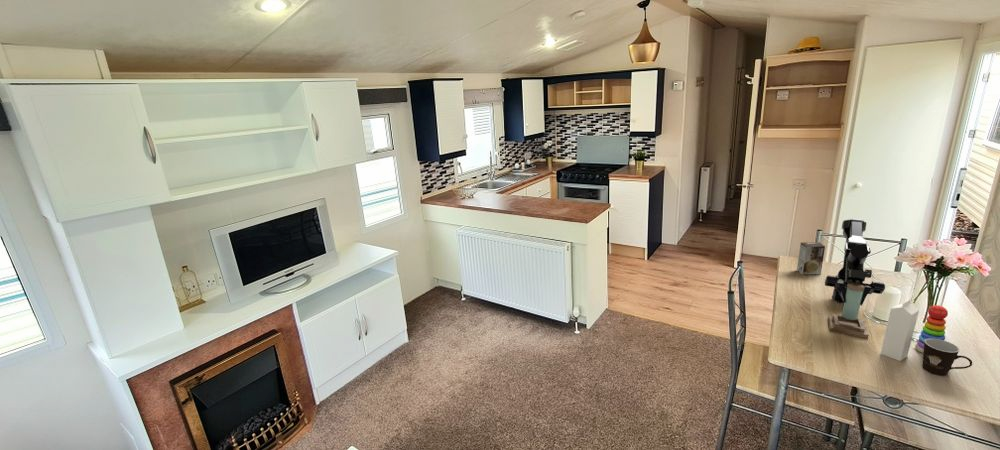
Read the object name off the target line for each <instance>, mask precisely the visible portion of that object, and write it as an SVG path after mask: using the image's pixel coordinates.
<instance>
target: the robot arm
mask: <svg viewBox="0 0 1000 450" xmlns="http://www.w3.org/2000/svg"><path fill="white" fill-rule="evenodd" d="M866 227H867V222H866V221H864V220H863V219H859V218H858V219H857V218H850V219H849V218H848V219H845V220H843V221H842V224H841V230H842V234H843V236H844V238H845V244H844V254H843V261H842V267H841V269H840V270H839V271H838V273H837V275H829V274H828V275H827V276H826V278H825V281H824V286H826V287H830V288H833V291H832V295H831V297H832V298H833V299H834V301H836V303H842V304H844V303H845V301H846V292H847V284H848V283H857V284H860V285H863V286H864V287H865V288H864V290H863V294H862V299H861V303H860V307H861V306H863V304H864V303H865V300H866V298H867V296H868V295H872V294H878V295H879V294H881V295H882V293H884V291H885V290H886V285H885V283H884V282H880V281H871V282H870V283H865V281H866V279H871V278H872V277H873V276H872V274H873V270H872V269H868V268H867V269H865V268H864V267H865V266H864V265H865V262H866V260H867V258H868V256H869V254H870V255H871V253H872V252H871V251H872V250H871V247H869V245H868V242H867V239H865V238H864V237H863V236H864V235H863V232H866V229H867V228H866Z"/></svg>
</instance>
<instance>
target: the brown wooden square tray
mask: <svg viewBox="0 0 1000 450" xmlns="http://www.w3.org/2000/svg"><path fill="white" fill-rule="evenodd" d="M827 319H828V324H829V330H830V332H833V333H839V334H843V335H847V336H852V337H853V336H854V337H858V338H864V339H869V332H868V329H867V326H866V323H865V320H864V321H863V320H862V318H859V317H858V318H857V319H856V320H850V319H846V318H844V317H843V316H842V314H841V315H840V314H838V313H837V314H836V313H833V315H828V318H827Z"/></svg>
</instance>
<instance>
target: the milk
mask: <svg viewBox="0 0 1000 450" xmlns="http://www.w3.org/2000/svg"><path fill="white" fill-rule="evenodd" d="M919 312H920V310H919V309H918V308H917V307H916V306H914V305H913V304H912V303H911V299H908V300H907V301H905V302H904V303H898V304H896V305H894V306H892V307H891V308H890V311H889V316H888V318H887V319H888V320H887V324H886V327H885V332H884V337H883V341H882V346H881V350H880V354H881V355H883V356H885V357H888V358H891V359H894V360H896V361H899V362H902V360H904V359H905V358H907V357H908V355H909V351H910V347H911V343H912V340H913V335H914V332H915V327H916V324H917V321H918V316H919V314H920V313H919Z"/></svg>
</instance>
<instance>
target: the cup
mask: <svg viewBox="0 0 1000 450" xmlns="http://www.w3.org/2000/svg"><path fill="white" fill-rule="evenodd" d="M864 288H865V287H864V286H863V285H860V284H857V283H848V284H847V292H846V301H845V303H843V308H842V313H841V315H842V316H843V317H844V318H846V319H850V320H856V319H857V318H859V317H858V316H859V312H860V307H861V305H860V303H861V299H862V294H863V290H864Z"/></svg>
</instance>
